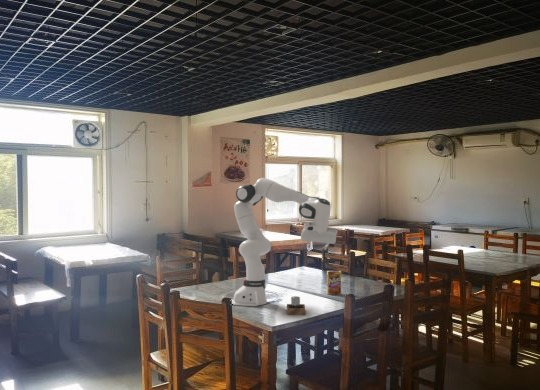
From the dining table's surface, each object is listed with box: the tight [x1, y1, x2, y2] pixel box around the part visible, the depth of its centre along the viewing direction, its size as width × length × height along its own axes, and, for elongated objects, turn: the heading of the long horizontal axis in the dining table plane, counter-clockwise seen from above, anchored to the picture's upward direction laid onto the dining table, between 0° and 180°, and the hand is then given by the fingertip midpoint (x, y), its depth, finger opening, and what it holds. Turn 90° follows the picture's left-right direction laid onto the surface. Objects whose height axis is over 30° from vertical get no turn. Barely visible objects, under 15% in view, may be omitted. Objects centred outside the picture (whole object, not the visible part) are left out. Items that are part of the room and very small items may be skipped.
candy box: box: [326, 270, 342, 295], centre depth 308 cm, size 9×4×15 cm, turn 93°
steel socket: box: [290, 296, 301, 308], centre depth 262 cm, size 5×5×8 cm
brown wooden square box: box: [286, 303, 306, 316], centre depth 262 cm, size 10×10×4 cm
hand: (316, 248), depth 273 cm, fingers open, 8 cm apart
